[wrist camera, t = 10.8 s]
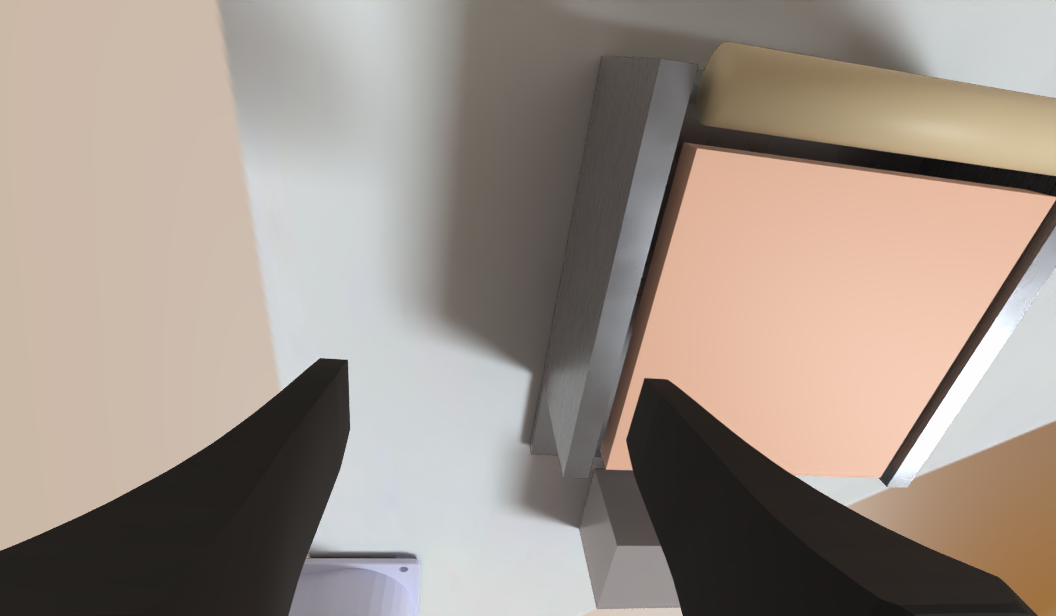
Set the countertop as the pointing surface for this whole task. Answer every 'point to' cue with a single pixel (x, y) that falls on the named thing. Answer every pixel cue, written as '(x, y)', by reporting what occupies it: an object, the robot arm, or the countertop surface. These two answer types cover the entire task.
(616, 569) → the grey cube
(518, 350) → the countertop surface
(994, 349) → the trapdoor frame
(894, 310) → the trapdoor
